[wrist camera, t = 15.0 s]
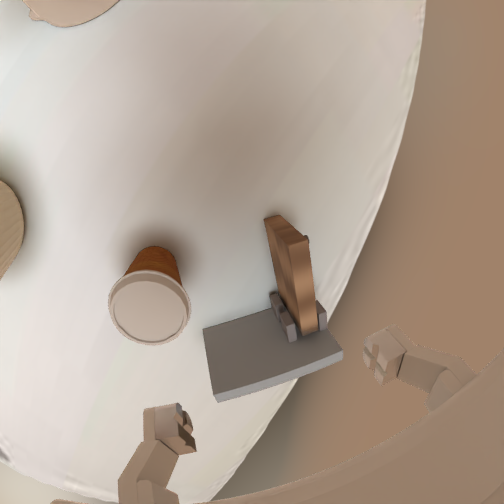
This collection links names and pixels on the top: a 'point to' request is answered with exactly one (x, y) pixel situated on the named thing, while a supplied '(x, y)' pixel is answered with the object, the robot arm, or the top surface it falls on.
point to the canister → (9, 227)
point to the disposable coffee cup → (150, 299)
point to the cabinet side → (265, 351)
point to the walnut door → (293, 272)
